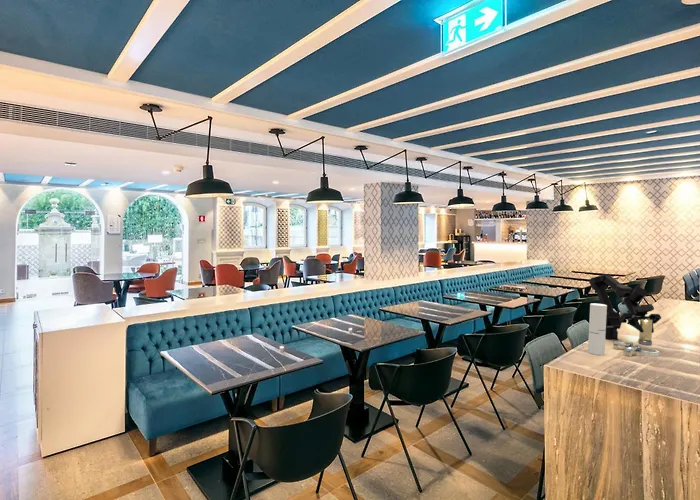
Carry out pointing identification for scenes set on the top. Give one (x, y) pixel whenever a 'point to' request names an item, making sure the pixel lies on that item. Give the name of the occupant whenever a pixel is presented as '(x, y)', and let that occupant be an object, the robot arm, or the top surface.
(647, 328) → the tan cylindrical piece
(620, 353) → the top surface
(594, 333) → the light grey tall block
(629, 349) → the shaft
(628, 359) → the top surface
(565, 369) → the top surface
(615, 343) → the shaft
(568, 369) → the top surface
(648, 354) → the socket ring
